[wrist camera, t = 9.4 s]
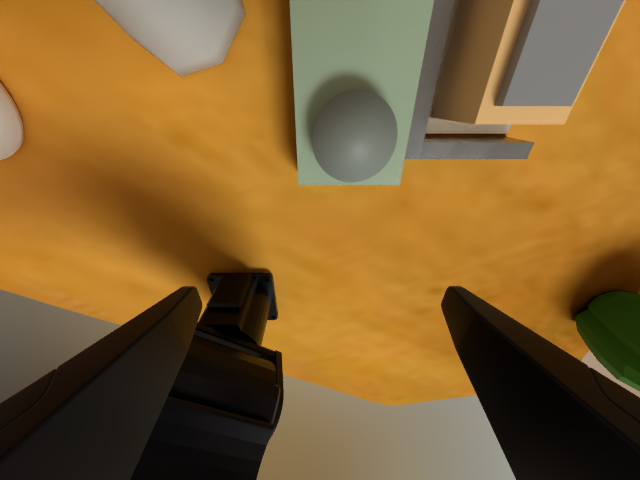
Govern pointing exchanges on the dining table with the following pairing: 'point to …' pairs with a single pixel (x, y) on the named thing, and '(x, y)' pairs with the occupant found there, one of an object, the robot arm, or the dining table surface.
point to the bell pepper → (614, 334)
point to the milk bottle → (9, 125)
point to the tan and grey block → (521, 59)
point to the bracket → (425, 122)
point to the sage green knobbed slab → (355, 87)
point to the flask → (180, 29)
